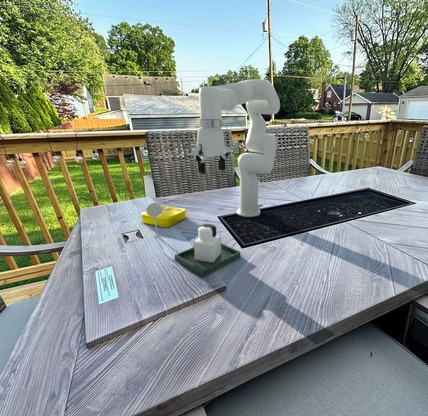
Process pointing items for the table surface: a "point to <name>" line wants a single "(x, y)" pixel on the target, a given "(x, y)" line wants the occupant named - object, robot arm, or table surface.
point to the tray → (207, 267)
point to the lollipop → (154, 211)
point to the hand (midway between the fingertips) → (212, 171)
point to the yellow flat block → (165, 216)
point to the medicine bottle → (207, 244)
